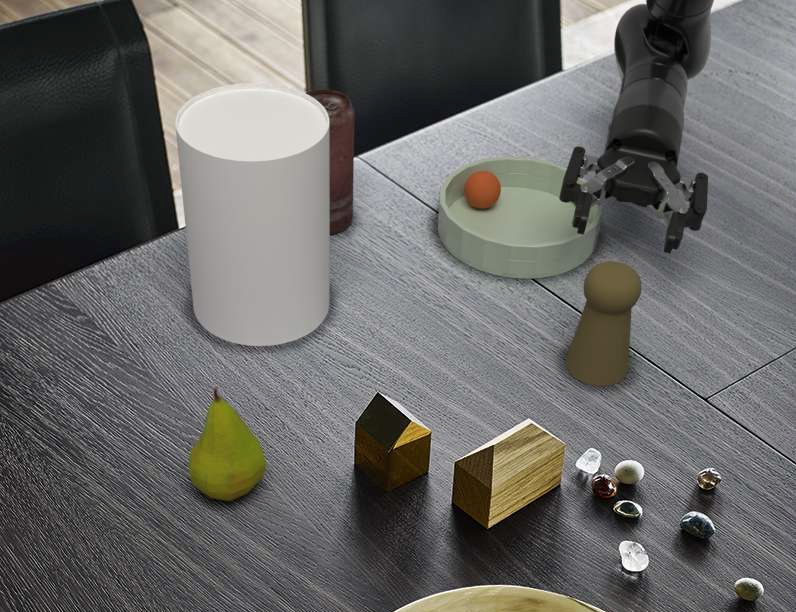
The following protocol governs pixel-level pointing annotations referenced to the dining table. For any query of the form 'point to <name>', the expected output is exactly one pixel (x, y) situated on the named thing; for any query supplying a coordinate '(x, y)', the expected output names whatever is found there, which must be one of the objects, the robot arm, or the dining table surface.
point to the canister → (256, 211)
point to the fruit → (226, 454)
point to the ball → (482, 189)
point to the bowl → (516, 221)
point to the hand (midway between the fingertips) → (625, 237)
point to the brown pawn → (604, 325)
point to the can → (339, 156)
